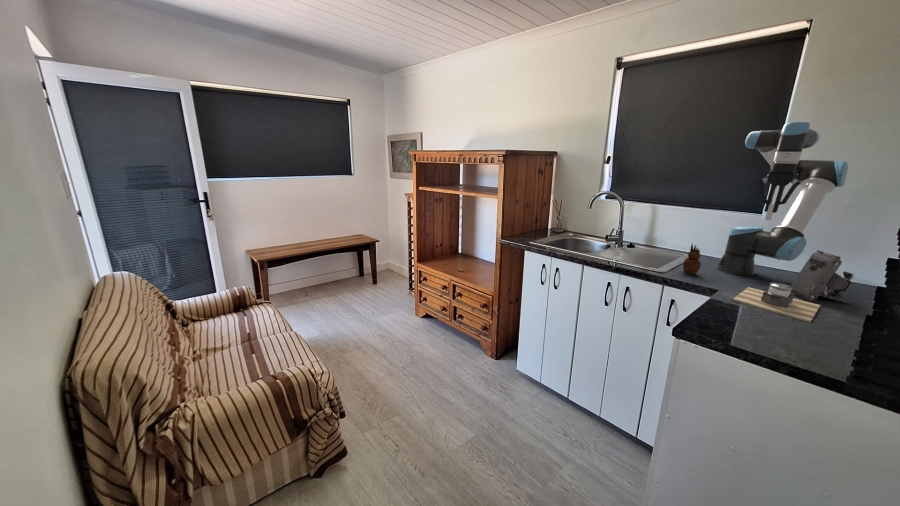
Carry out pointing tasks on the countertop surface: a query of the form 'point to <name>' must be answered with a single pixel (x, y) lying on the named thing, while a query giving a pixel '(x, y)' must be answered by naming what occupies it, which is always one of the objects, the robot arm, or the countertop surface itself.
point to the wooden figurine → (692, 261)
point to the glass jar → (780, 289)
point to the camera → (821, 278)
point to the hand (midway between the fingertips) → (767, 219)
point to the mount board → (794, 309)
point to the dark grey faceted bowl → (777, 299)
